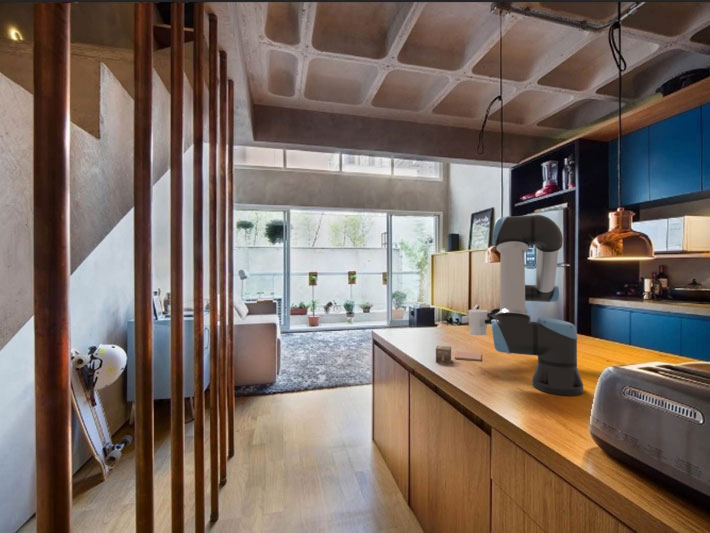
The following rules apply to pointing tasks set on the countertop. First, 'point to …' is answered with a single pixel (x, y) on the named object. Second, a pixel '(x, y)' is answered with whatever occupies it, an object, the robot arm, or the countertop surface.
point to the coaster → (468, 356)
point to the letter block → (443, 354)
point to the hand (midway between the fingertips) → (470, 321)
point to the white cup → (473, 321)
